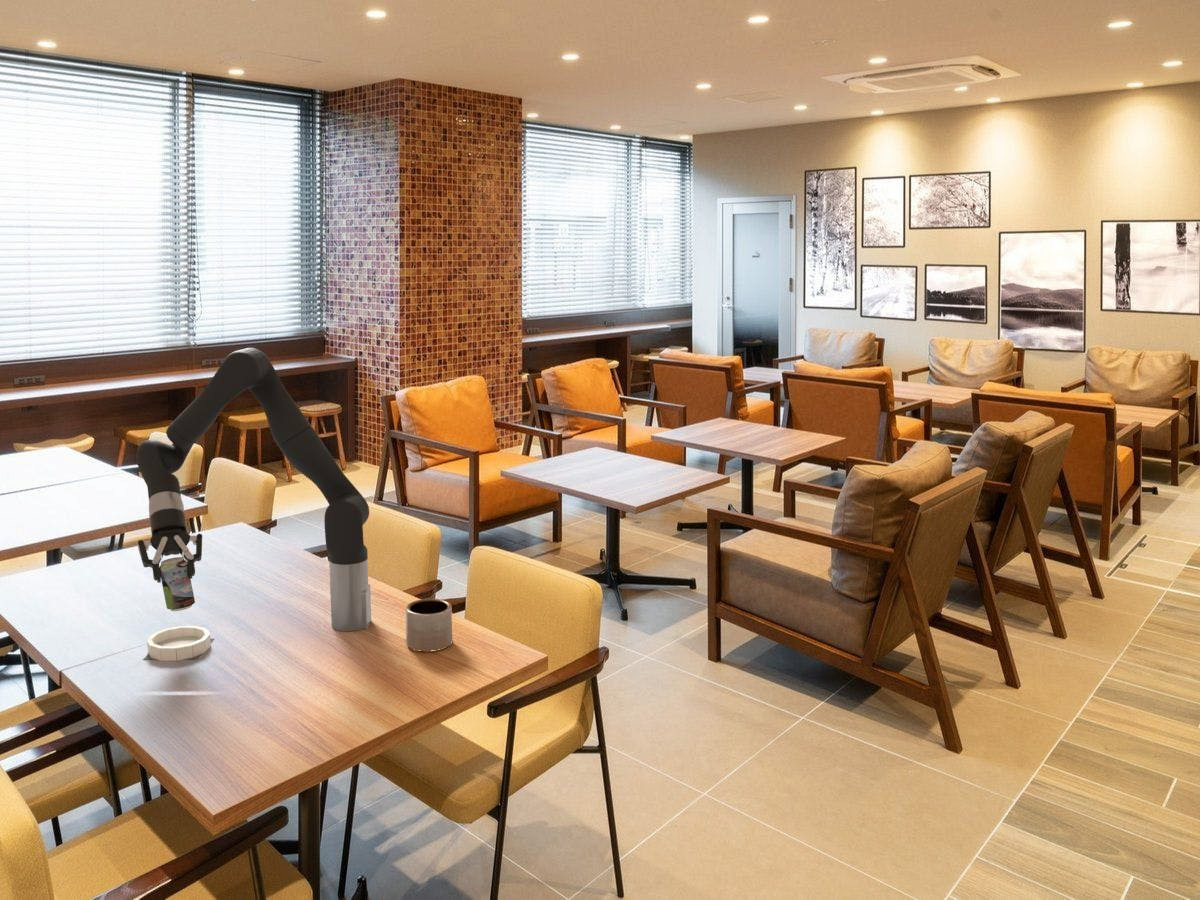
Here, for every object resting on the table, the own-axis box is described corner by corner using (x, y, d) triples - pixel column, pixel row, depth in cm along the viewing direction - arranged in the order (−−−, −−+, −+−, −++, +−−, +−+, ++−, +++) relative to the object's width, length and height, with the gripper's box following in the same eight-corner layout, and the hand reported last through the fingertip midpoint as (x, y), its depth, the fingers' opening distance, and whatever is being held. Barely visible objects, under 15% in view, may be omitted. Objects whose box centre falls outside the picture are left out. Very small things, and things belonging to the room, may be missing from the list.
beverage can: (185, 615, 217) (181, 565, 214) (155, 612, 218) (152, 562, 215) (201, 605, 223) (198, 556, 220) (172, 602, 224) (169, 553, 221)
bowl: (217, 637, 229) (217, 625, 228) (198, 660, 216) (197, 648, 215) (162, 637, 228) (161, 625, 227) (139, 660, 215) (138, 648, 215)
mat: (215, 640, 228) (214, 638, 228) (197, 662, 217) (196, 659, 216) (163, 640, 228) (163, 638, 228) (142, 662, 216) (142, 659, 216)
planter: (414, 656, 222) (413, 617, 220) (400, 639, 232) (399, 602, 230) (458, 648, 227) (458, 610, 225) (443, 632, 237) (443, 595, 235)
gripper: (133, 510, 219) (140, 576, 211) (200, 504, 225) (209, 567, 218) (133, 526, 224) (140, 591, 216) (199, 519, 231) (208, 582, 223)
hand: (175, 578), depth 217 cm, fingers closed on beverage can, 6 cm apart
